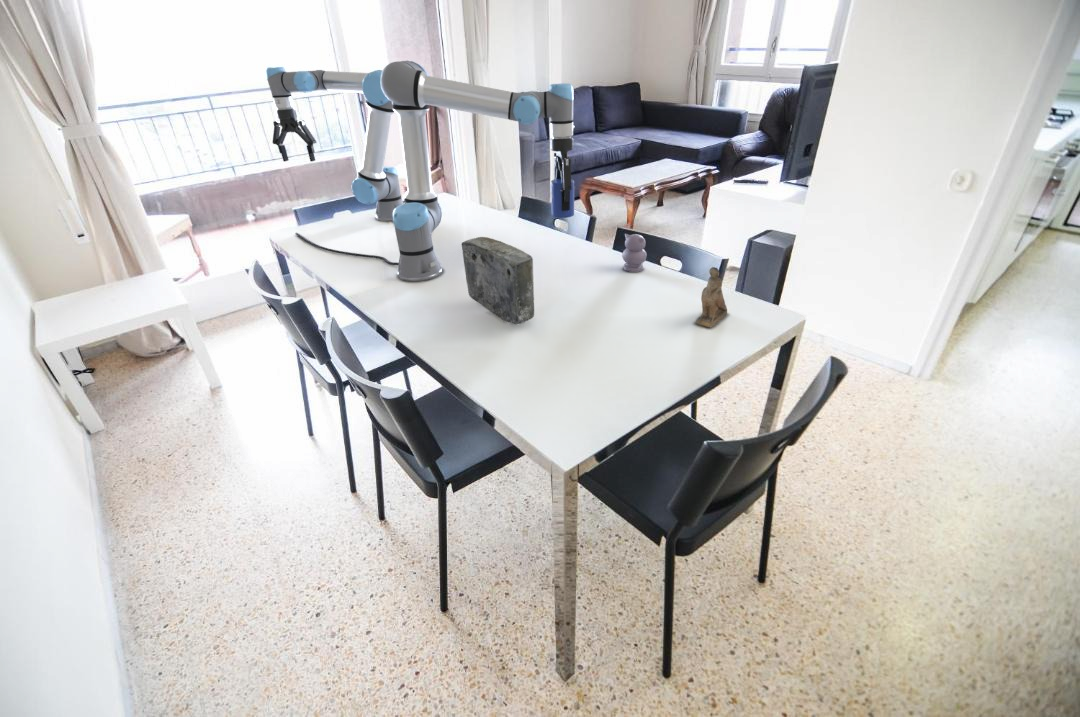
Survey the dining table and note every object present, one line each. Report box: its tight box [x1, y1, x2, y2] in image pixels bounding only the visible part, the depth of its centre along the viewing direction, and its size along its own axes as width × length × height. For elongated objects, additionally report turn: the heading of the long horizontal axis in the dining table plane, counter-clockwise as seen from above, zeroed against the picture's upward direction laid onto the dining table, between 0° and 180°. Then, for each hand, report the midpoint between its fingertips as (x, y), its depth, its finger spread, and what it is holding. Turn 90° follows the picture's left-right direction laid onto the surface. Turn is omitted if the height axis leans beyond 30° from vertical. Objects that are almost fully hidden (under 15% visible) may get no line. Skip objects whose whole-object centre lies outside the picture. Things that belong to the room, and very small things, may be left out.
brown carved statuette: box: [695, 266, 728, 328], centre depth 135 cm, size 12×6×18 cm, turn 136°
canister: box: [550, 178, 575, 219], centre depth 173 cm, size 8×8×12 cm
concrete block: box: [461, 236, 535, 325], centre depth 141 cm, size 27×9×20 cm, turn 36°
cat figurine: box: [621, 233, 648, 273], centre depth 170 cm, size 8×8×12 cm
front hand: (562, 207), depth 175 cm, fingers closed on canister, 8 cm apart
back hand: (299, 161), depth 224 cm, fingers open, 13 cm apart
